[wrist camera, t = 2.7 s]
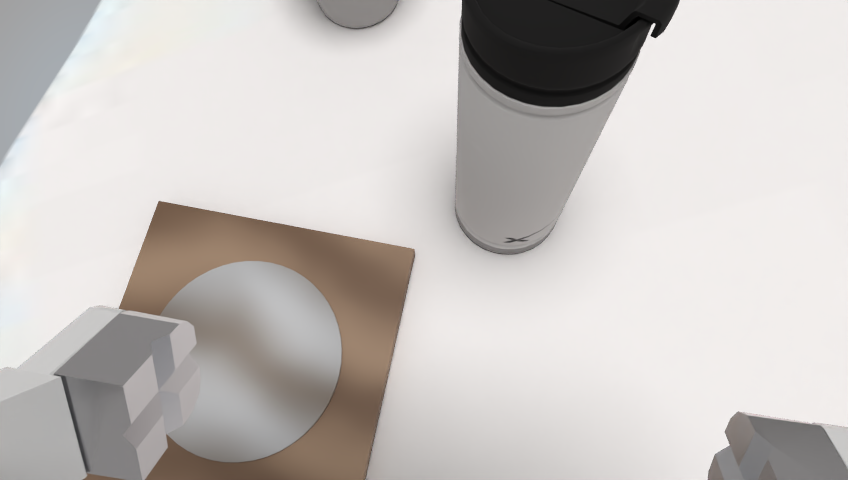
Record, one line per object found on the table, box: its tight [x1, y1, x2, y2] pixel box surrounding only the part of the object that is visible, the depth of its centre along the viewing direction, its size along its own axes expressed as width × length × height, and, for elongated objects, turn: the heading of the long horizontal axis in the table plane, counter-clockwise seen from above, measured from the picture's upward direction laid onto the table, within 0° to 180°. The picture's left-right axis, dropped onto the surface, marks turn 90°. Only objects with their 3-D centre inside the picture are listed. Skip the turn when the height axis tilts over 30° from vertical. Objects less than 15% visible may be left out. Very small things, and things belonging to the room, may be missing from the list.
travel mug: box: [455, 0, 680, 254], centre depth 27 cm, size 6×7×20 cm
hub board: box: [83, 201, 415, 480], centre depth 33 cm, size 16×16×1 cm
